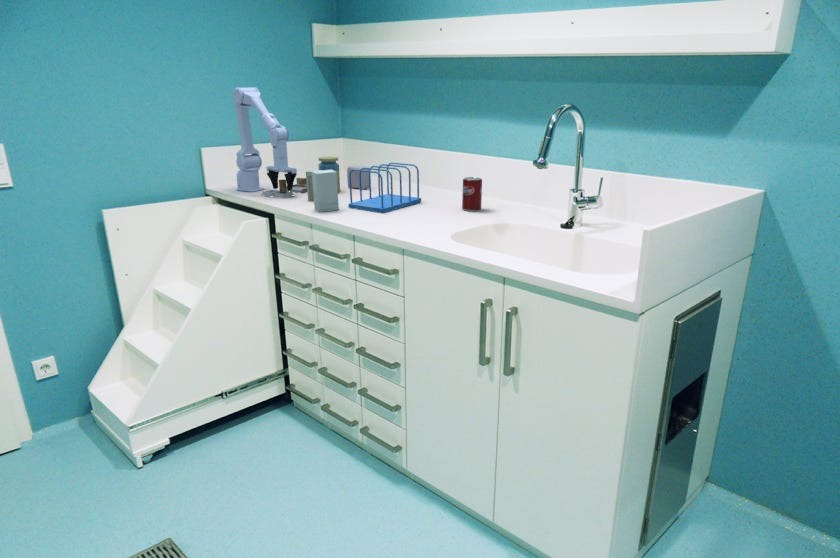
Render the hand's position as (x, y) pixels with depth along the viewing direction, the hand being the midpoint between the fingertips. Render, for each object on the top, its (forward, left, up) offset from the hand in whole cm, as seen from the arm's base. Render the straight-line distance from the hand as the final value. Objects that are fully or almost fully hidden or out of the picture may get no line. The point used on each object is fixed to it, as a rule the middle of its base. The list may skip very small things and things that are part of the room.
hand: (282, 189), depth 249 cm
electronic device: (+18, +31, -3) cm, 36 cm away
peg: (0, 0, -2) cm, 2 cm away
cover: (-2, +22, -1) cm, 22 cm away
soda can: (+82, +11, -3) cm, 83 cm away
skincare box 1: (+18, -1, -3) cm, 18 cm away
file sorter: (+48, +4, -3) cm, 49 cm away
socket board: (-3, 0, -3) cm, 4 cm away
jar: (+12, +17, -3) cm, 21 cm away
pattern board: (-2, +19, -3) cm, 19 cm away
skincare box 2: (+33, -15, -3) cm, 36 cm away
